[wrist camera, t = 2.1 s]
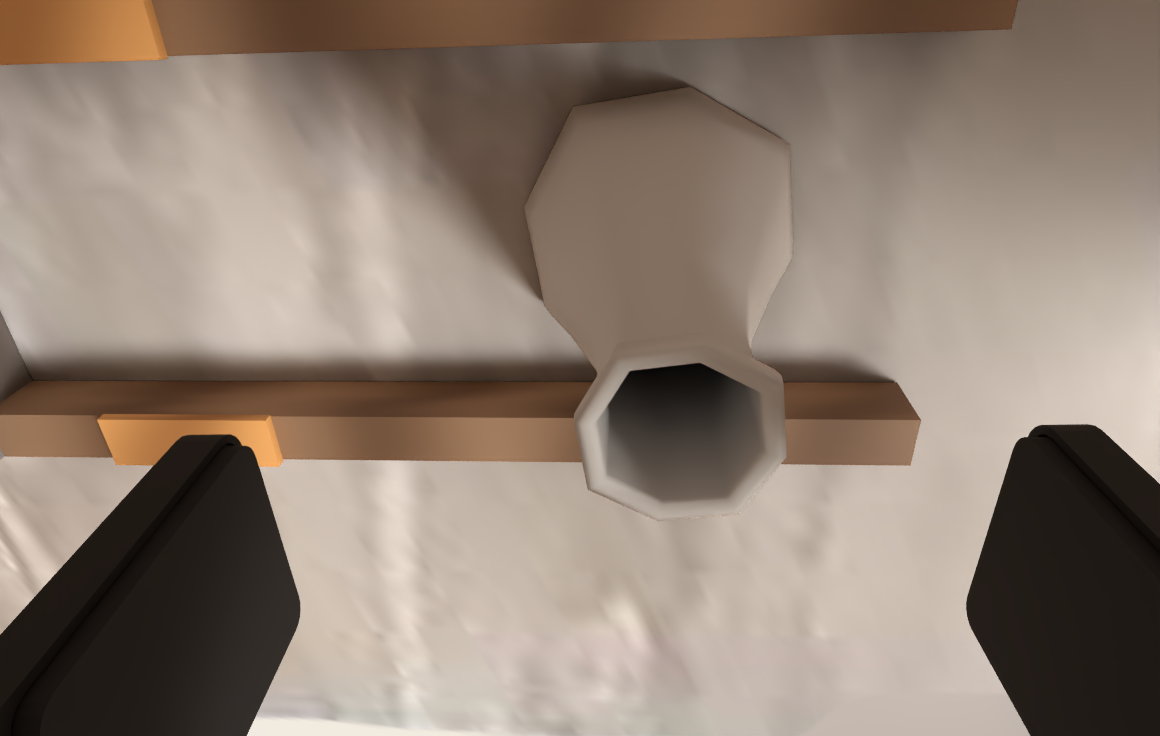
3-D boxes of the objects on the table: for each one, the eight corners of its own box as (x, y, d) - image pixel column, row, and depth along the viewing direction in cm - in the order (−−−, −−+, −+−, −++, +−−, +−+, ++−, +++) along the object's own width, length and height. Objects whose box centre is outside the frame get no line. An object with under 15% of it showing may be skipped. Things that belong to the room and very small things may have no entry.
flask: (542, 59, 18) (453, 152, 9) (834, 110, 18) (1032, 251, 9) (511, 324, 21) (425, 578, 12) (754, 365, 21) (840, 644, 12)
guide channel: (987, -57, 16) (1088, -63, 12) (887, 426, 22) (936, 514, 18) (-243, -8, 18) (-456, -1, 14) (-21, 421, 24) (-132, 498, 20)
